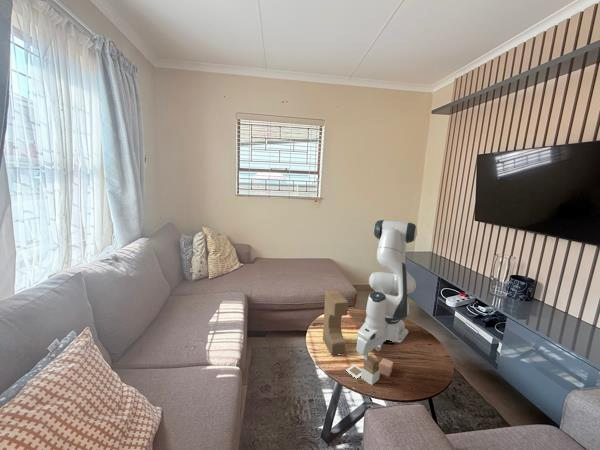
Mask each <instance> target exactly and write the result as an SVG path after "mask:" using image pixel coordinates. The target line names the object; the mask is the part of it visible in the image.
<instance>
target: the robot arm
mask: <svg viewBox="0 0 600 450" xmlns="http://www.w3.org/2000/svg"><path fill="white" fill-rule="evenodd" d="M373 235H374V237H375V238H376V239H377V240H379V241H378V246H377V248H376V249H377V250H376V260H377V262H378V264H379V265H380V266H381V267H383V268H384V269H386V270H388V271H389V272H385V271H376V272H375V271H374V272H372V273H371V274H370V275H369V277H368V284H369V286H370V288H371V289H372V290H373V291H372V292H370V293H369V294H368V296H366V297H367V298H366V301H365V315H366V317H365V319H364V323H363V324H362V326H361V327H360V328H359V329H358V330H357V335H358V337H357V338H356V339H357V340H356V352H357V353H358V354H359V355H361V356H363V360H364V359H365V360H367V359H369V355H368V354H369V352H372V351H373V350H374V349H375V350H376V351H377V352H380V351H381V349H382V346H383V344H384V342H386V340H390V341H392V342H391V343H398V344H400V343H402V342H403V341H404V339H405V338H406V337H407V335H408V334H409V330H408V329H407V328H405V327H406V323H405V321H403V320H404V319H406V318H408V316H409V314H410V305H409V299H408V296H409V294H412V293H414V291H415V290H416V287H417V283H416V280H415V278H414V277H413V276H412V275H411V274H410V273H409V271H408V270H407V266H406V249H407V248H406V247H407V244H409V243H413V242H415V240H416V239H417V236H418V228H417V225H416V223H413V222H409V221H407V222H406V221H401V220H384V219H381V220H376V222H375V224H374V226H373ZM391 293H395V294H398V295H397V296H396V295H393V294H392V295H391Z"/></svg>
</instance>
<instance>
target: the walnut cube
mask: <svg viewBox="0 0 600 450" xmlns="http://www.w3.org/2000/svg"><path fill="white" fill-rule="evenodd" d="M380 362H381V360H380V359H378V358H377V357H376V356H373V355H372V354H370V355H369V359H367V360H365V359H364V358H363V367H362V368H363V369H365V370H366V371H368V372H369V373H371V374H374V373H375V372H377V371H378V370H379V365H380Z"/></svg>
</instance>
